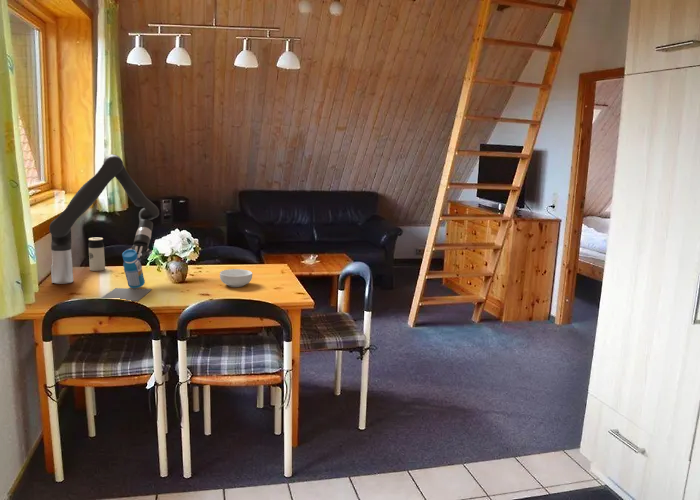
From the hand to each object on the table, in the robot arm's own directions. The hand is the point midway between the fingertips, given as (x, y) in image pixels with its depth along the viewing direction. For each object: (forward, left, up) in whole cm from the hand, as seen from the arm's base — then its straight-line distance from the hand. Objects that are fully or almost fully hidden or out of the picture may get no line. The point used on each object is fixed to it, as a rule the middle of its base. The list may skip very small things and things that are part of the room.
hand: (135, 265), depth 295 cm
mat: (0, -15, -12) cm, 19 cm away
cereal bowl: (+49, +10, -12) cm, 51 cm away
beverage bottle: (0, 0, -10) cm, 10 cm away
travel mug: (-34, +36, -12) cm, 51 cm away
